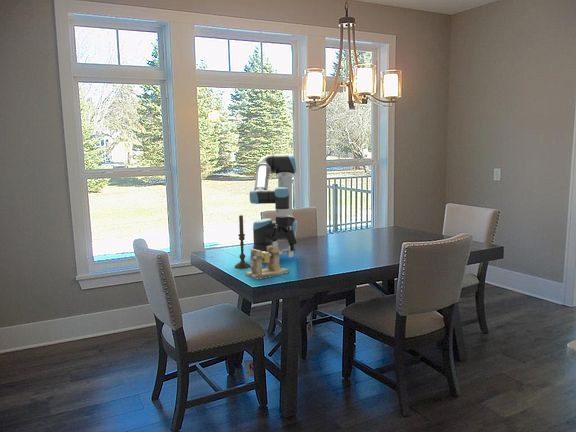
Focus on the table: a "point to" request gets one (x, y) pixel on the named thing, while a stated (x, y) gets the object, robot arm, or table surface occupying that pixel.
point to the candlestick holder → (241, 238)
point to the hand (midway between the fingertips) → (283, 254)
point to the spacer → (265, 257)
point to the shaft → (279, 253)
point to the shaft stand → (271, 266)
